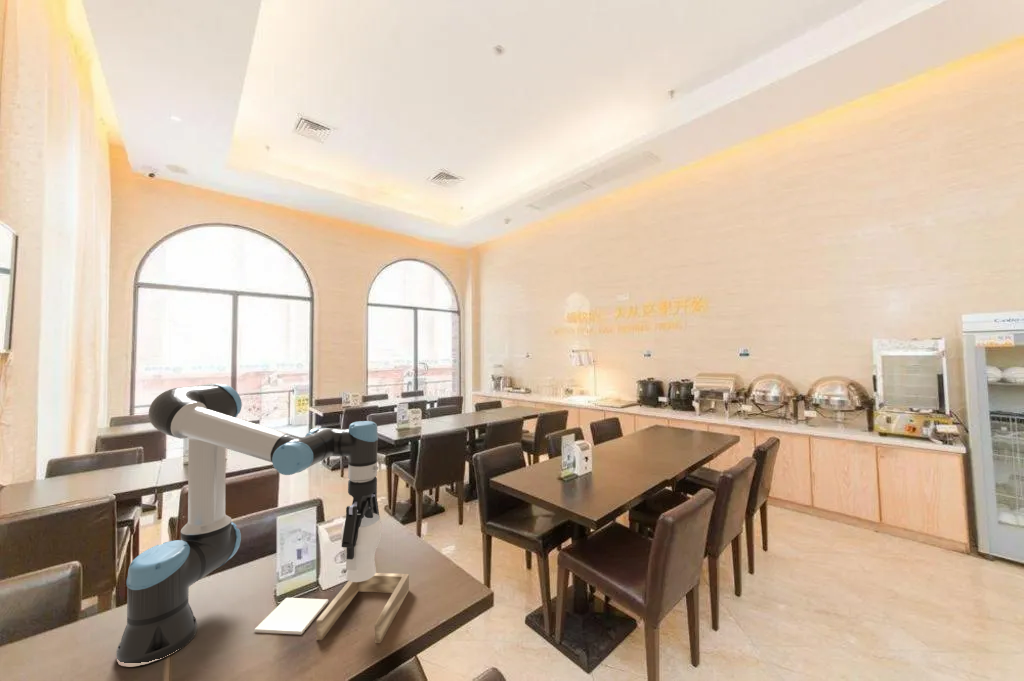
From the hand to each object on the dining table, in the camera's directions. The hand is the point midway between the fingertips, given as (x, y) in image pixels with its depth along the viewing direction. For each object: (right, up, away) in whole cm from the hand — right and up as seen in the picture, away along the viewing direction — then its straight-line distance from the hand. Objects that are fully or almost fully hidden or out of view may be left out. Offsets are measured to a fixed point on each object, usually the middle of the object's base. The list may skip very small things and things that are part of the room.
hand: (361, 558), depth 108 cm
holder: (+1, -17, +2) cm, 17 cm away
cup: (0, -5, 0) cm, 5 cm away
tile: (-20, -17, +1) cm, 26 cm away
